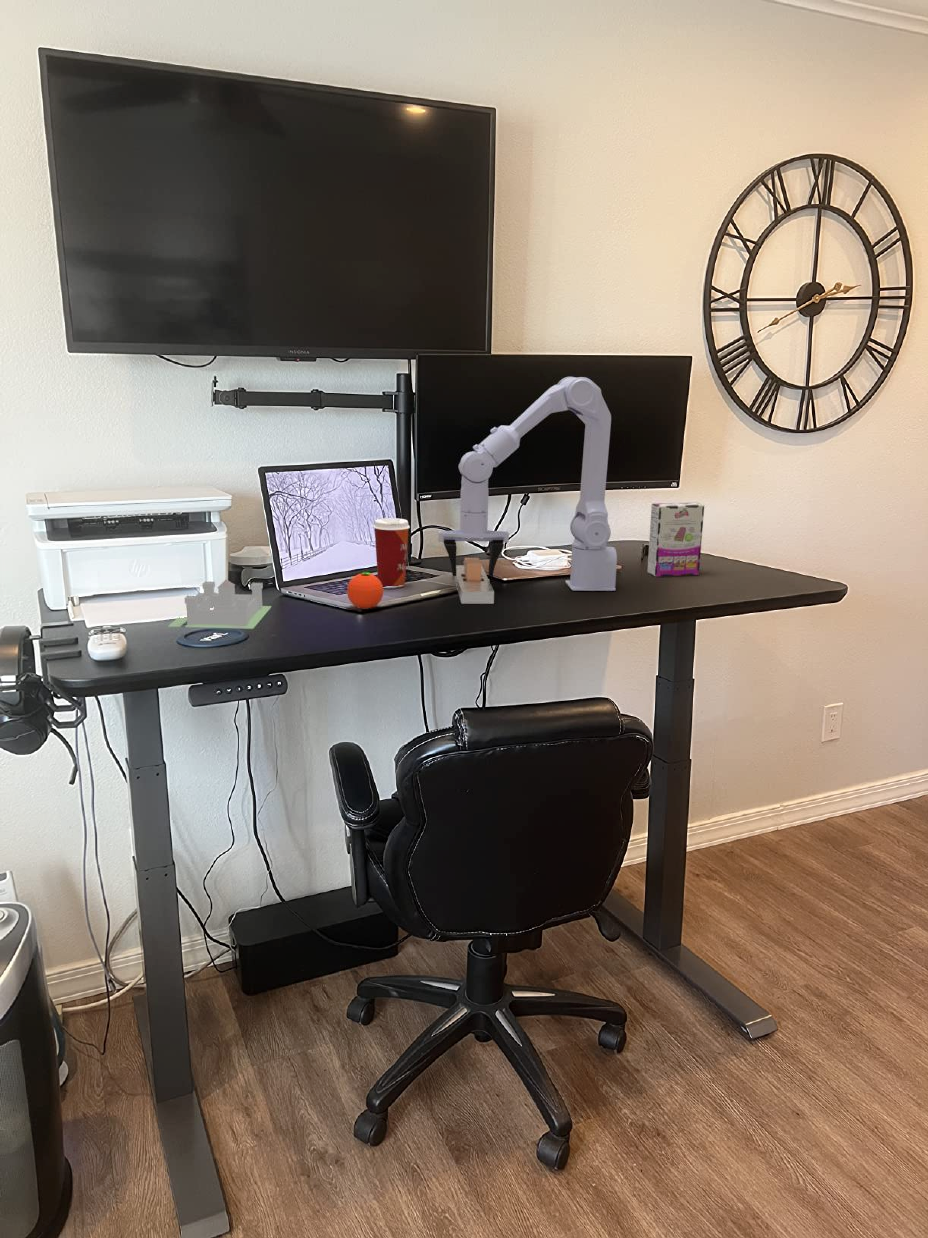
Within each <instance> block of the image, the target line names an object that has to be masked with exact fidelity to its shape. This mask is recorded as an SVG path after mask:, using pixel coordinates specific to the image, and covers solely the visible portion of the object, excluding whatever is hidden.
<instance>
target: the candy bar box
mask: <svg viewBox="0 0 928 1238" xmlns="http://www.w3.org/2000/svg"><path fill="white" fill-rule="evenodd" d="M650 509H651V511H650V525H649V527H650V528H649V540H648V556H647V557H648V558H647V573H648V575H651V576H654V577H656V578H659V577H662V578H663V577H686V576H688V577H689V576H699V574H700V565H701V563H700V562H701V551H702V540H703V539H702V538H703V531H704V530H703V527H704V513H705V505H704V504H702V503H699V502H666V503H664V502H663V503H661V502H660V503H656V502H655V503H651V508H650Z"/></svg>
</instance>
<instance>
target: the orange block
mask: <svg viewBox="0 0 928 1238" xmlns="http://www.w3.org/2000/svg"><path fill="white" fill-rule="evenodd" d="M463 562H464V564H463V565H464V577H465V578H466V581H481V565H482V563H481V560H480V558H479V557H464V561H463Z"/></svg>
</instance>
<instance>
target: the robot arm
mask: <svg viewBox="0 0 928 1238" xmlns="http://www.w3.org/2000/svg"><path fill="white" fill-rule="evenodd" d="M565 411H571V412H573V413H574V414H575V415H576V416H577V417H578V418H579V419H580V420H581V421H582V422H583V424H584V425H585V428H584V439H583V440H584V441H583V453H582V454H583V455H582V464H581V466H582V467H581V468H582V469H581V479H580V494H579V501H578V502H577V504H576V507H575V513H574V516H573V518H572V520H571V521H570V525H569V530H570V533H571V535H572V536H573V537H574V540H573V541H572V542H571V544H572V545H571V556H570V557H571V559H570V575H569V577H570V578H569V579H567V580H565V584H566V585H567V586H568V587H569V588H570V589H571V591H575V592H576V591H579V592H580V591H584V592H585V591H589V592H591V591H592V592H595V591H597V592H598V591H601V592H603V591H606V592H612V591H613V592H614V591H616V582H617V581H616V580H617V578H616V577H617V565H618V556H617V550H616V548H615V546H614V547H613V546H607V544H608V542H609V540H610V538H611V533H612V532H611V528H610V525H609V522H608V519H609V518H608V516H609V514H608V510H607V507H606V504H605V499H606V498H605V497H606V487H607V486H606V485H607V473H608V462H609V452H610V451H609V449H610V440H611V439H610V438H611V425H612V414H611V412H610V410H609V408H608V405H607V403H606V401H605V400H604V397H603V395H602V389H601V388H600V387H599V386H598V385H597V383H595V382H594V381H593V380H591V379H590V378H588V377H585V376H584V377H583V376H579V377H574V376H566V377H563V378H562V379H561V380H559V381H558V383H557V384H554V385H553V386H550V387H549V388H548V389H547V390H546V391H544V393H543V394H542V395H541V396H539V398H538V399H536V400H535V401H534V402H533V403H532V404H531V405H530V406H529V407H528V408H527V409H525V411H524V412H523V413H521V414H520V415H519V416H518V417H517V419H515V420H514V421H513V422H512V423H511V424H510V425H500V426H498V427H496V426H494V427H493V428H491V429H490V434H489V435H488V436H487V437H486V438H484V439H483V440H482V441H481V442H480V443H479V444H475V445H473V446H472V449H473V450H472V451H469V452H466V453H465V454H463V456H462V457H461V459H460V461H459V463H458V470H459V472H460V474H461V481H460V483H461V488H460V507H459V508H460V509H459V511H460V514H459V515H460V516H459V529H458V530H438V535H437V536H438V539H437V540H438V542H439V543H443V545H444V547H445V550H446V552H447V555H448V557H449V561H450V566H451V572H452V573H451V575H452V577H453V576H456V565H457V549H458V548H457V542H489V560H488V561H489V562H488V576H489V577H493V576H494V570H495V567H496V565H497V562H498V559H499V556H500V555H501V552H502V551H503V549H504V546H505V543H509V538H510V537H509V535H510V533H509V532H508V531H499V530H488V526H489V525H488V519H489V517H488V516H489V478H490V477H491V476H492V474H493V470H494V469H493V468H497V467H498V466H499V465H500V464H501V463H502V462H504V461H505V460H506V459H507V458H508V457H510V456H511V454H513V453H514V452H515V451H516V450H517V449H518V448H519V447H520V442H521V438H522V437H523V436H524V435H525V434H527V433H528V432H529V431H531V430H532V429H533V428H534V427H535V426H537V425H538V424H539V423H540V422H542V421H543V420H544V419H545V418H547V417H548V416H549V415H550V414H553V413H558V412H559V413H560V412H565Z"/></svg>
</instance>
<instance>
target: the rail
mask: <svg viewBox="0 0 928 1238" xmlns="http://www.w3.org/2000/svg"><path fill="white" fill-rule="evenodd" d="M454 579H455V581H454V583H455V582H456V584H457V587H456V589H457V588H458V590H457V593H458V596H459V601H460V603H461V604H463V605H465V604H466V605H468V604H470V605H471V604H472V605H473V604H474V605H475V604H478V605H479V604H480V605H482V604H483V605H485V604H486V605H487V604H488V605H489V604H491V605H492V604H494V603H495V590H494V589H493V586H492V584H491V581H490V580H489V578H488V576H487V573H486V572H485V569H484V567H483V565H482V564H481V581H466V578H465V577H464V564H463V565H462V564H461V565H460V564H459V565H457V564H456V576H454V577H453V580H454ZM456 584H455V585H456Z"/></svg>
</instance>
